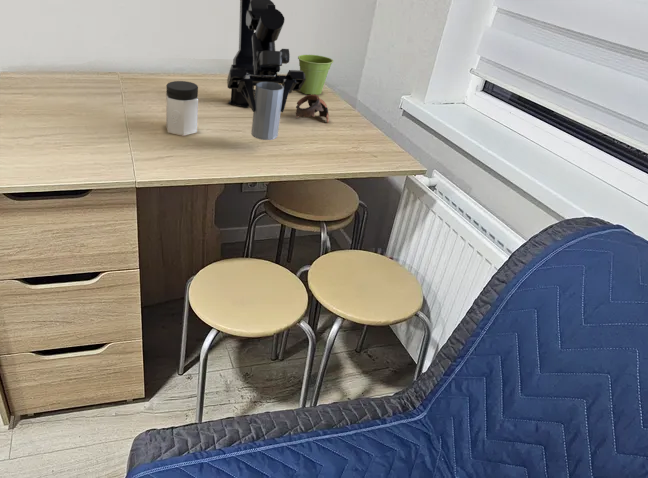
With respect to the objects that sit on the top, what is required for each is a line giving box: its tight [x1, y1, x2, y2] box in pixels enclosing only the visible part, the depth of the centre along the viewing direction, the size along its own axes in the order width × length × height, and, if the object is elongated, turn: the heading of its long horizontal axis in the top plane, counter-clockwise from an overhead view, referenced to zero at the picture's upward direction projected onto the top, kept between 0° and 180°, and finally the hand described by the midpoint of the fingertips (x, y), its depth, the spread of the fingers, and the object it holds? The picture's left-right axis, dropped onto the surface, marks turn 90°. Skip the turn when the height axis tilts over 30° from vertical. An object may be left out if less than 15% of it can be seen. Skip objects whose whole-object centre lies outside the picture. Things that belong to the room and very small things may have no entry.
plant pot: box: [297, 54, 334, 96], centre depth 175 cm, size 12×12×11 cm
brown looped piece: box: [295, 94, 330, 123], centre depth 155 cm, size 12×10×8 cm
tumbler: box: [250, 82, 284, 141], centre depth 128 cm, size 7×7×12 cm
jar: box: [165, 80, 199, 137], centre depth 137 cm, size 9×8×12 cm
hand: (268, 111), depth 127 cm, fingers closed on tumbler, 7 cm apart
